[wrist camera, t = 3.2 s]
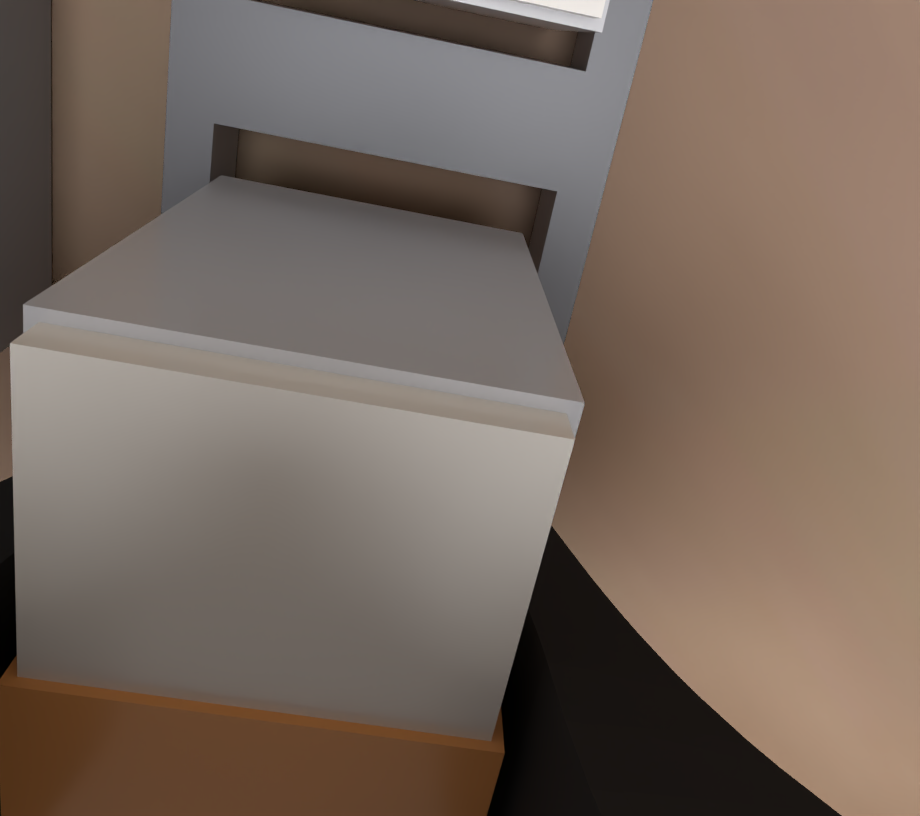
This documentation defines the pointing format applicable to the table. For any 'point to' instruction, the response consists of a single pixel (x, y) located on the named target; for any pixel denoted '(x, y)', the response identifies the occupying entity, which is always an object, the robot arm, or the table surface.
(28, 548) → the white and orange block
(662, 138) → the table surface
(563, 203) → the fuse holder
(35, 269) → the tray
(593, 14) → the block
